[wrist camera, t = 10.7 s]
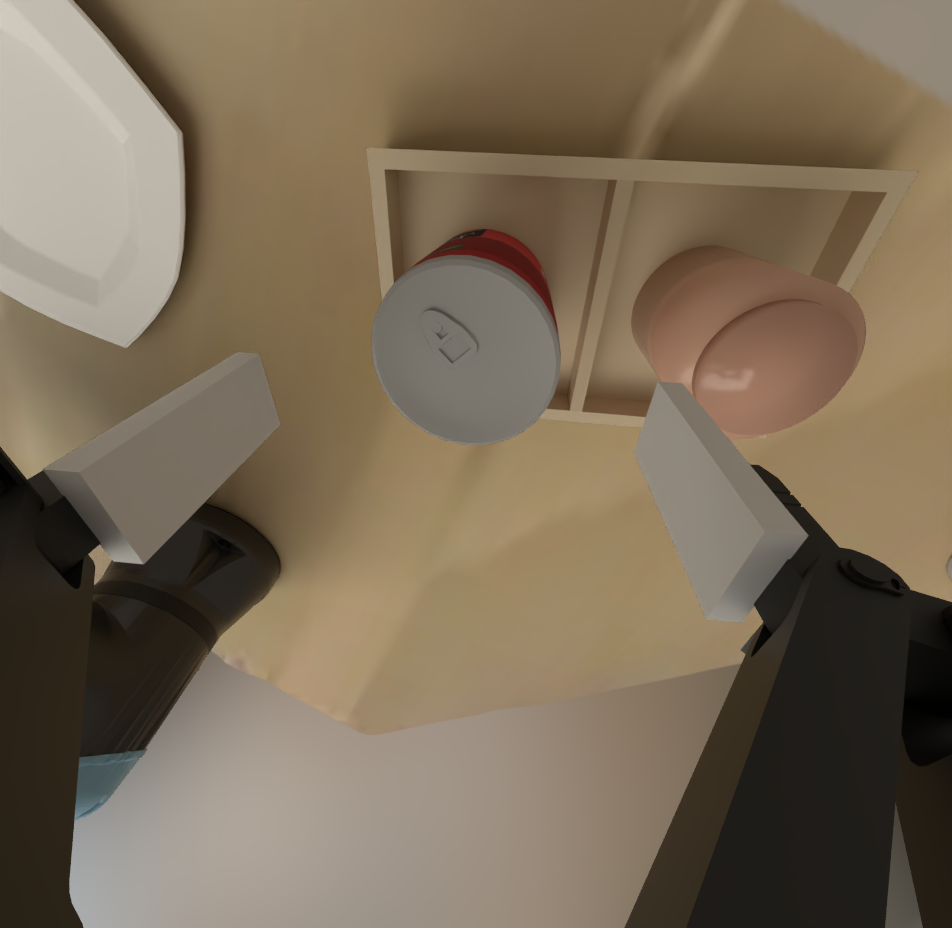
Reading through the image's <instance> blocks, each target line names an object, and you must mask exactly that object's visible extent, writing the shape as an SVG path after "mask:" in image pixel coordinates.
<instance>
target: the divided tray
mask: <svg viewBox="0 0 952 928" xmlns="http://www.w3.org/2000/svg"><path fill="white" fill-rule="evenodd" d="M367 158H368V168H369V178H370V188H371V198H372V207H373V217H374V227H375V237H376V247H377V257H378V267H379V277H380V286H381V296H382V299H383V298H384V297H385V295H386V293H387V292H388V291H389V289H390V288H391V287H392V285H393V284H394V283H395V281H396V280H397V279H398V278H400V277H401V276H402V275H403V274H404V273H405V272H406V271H408V270H409V269H410V268H411V267H413V266H414V265H415V264H416V263H417V262H419V261H420V260H422V259H423V258H424V257H426V256H427V255H429V254H430V253H431V252H433V251H434V250H436V249H437V248H438V247H440V246H441V245H443V244H444V243H445V242H447V241H448V240H450V239H451V238H453V237H455V236H457V235H459V234H461V233H463V232H466V231H471V230H475V229H492V230H496V231H500V232H504V233H506V234H508V235H510V236H512V237H514V238H516V239H518V240H519V241H520V242H521V243H523V244H524V245H525V246H526V247H528V248H529V249H530V251H531V252H532V253H533V254H534V255H535V257H536V258H537V259H538V261H539V263H540V265H541V267H542V268H543V270H544V273H545V276H546V279H547V282H548V286H549V290H550V295H551V299H552V304H553V308H554V313H555V318H556V322H557V327H558V334H559V342H560V350H561V362H560V373H559V380H558V383H557V386H556V390H555V393H554V396H553V398H552V399H551V401H550V403H549V405H548V407H547V409H546V410H545V411H544V413H543V414H542V415H541V416H540V417H539V418H538V419H548V420H560V421H571V422H583V423H594V424H606V425H618V426H629V427H641V428H642V427H643V424H644V421H645V418H646V415H647V412H648V409H649V406H650V403H651V400H652V397H653V394H654V391H655V388H656V385H657V382H661V381H660V379H659V378H658V376H657V375H656V373H655V372H654V370H653V369H652V367H651V366H650V364H649V363H648V361H647V360H646V358H645V357H644V355H643V353H642V352H641V350H640V349H639V347H638V346H637V344H636V342H635V340H634V337H633V333H632V328H631V317H632V310H633V306H634V303H635V300H636V298H637V295H638V293H639V291H640V290H641V288H642V286H643V285H644V283H645V282H646V280H647V279H648V278H649V277H650V275H651V274H652V273H653V272H654V271H655V270H656V269H657V268H658V267H660V266H661V265H662V264H663V263H664V262H666V261H667V260H669V259H670V258H672V257H673V256H675V255H677V254H679V253H681V252H683V251H686V250H688V249H692V248H695V247H700V246H711V245H715V246H723V247H726V248H730V249H733V250H736V251H739V252H742V253H745V254H747V255H750V256H753V257H756V258H759V259H762V260H765V261H768V262H771V263H774V264H777V265H779V266H782V267H785V268H788V269H791V270H794V271H797V272H800V273H803V274H806V275H809V276H811V277H814V278H817V279H820V280H823V281H826V282H829V283H832V284H834V285H836V286H838V287H840V288H842V289H844V290H845V291H846V292H848V293H849V292H850V290H851V289H852V287H853V285H854V283H855V282H856V280H857V278H858V276H859V275H860V273H861V271H862V269H863V268H864V266H865V264H866V262H867V261H868V259H869V257H870V255H871V254H872V252H873V250H874V248H875V247H876V245H877V243H878V242H879V240H880V238H881V236H882V235H883V233H884V231H885V229H886V228H887V226H888V224H889V222H890V221H891V219H892V217H893V215H894V214H895V212H896V210H897V208H898V207H899V205H900V203H901V201H902V200H903V198H904V196H905V194H906V193H907V191H908V189H909V187H910V186H911V184H912V182H913V180H914V179H915V177H916V175H917V173H918V172H919V171H901V170H878V169H854V168H831V167H808V166H784V165H761V164H737V163H714V162H691V161H667V160H644V159H620V158H597V157H574V156H550V155H527V154H504V153H480V152H457V151H433V150H410V149H387V148H367ZM392 405H393V406H394V404H393V403H392ZM767 436H768V434H767V435H764V436H759V437H758V438H766V437H767Z"/></svg>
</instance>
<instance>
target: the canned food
mask: <svg viewBox="0 0 952 928" xmlns="http://www.w3.org/2000/svg"><path fill="white" fill-rule="evenodd" d="M371 343H372V357H373V362H374V367H375V371H376V373H377V376H378V378H379V381H380V383H381V386H382V388H383V389H384V391H385V393H386V394H387V396H388V397H389V399H390V401H391V402H392V403H393V404H394V406H395V407H396V408H397V409H398V410H399V411H400V412H401V414H402V415H403V416H405V417H406V418H407V419H408V420H409V421H411V422H412V423H413V424H414V425H415V426H417V427H419V428H420V429H422V430H424V431H425V432H427V433H429V434H430V435H433V436H435V437H438V438H440V439H443V440H445V441H449V442H454V443H458V444H464V445H485V444H494V443H497V442H501V441H504V440H507V439H510V438H512V437H514V436H516V435H518V434H520V433H522V432H523V431H525V430H526V429H527V428H528V427H530V426H531V425H532V424H534V423H535V422H536V421H537V420H538V418H539V417H540V416H541V415H542V414H543V413H544V411H545V410H546V409H547V407H548V405H549V403H550V401H551V399H552V398H553V396H554V393H555V390H556V386H557V383H558V380H559V373H560V362H561V350H560V342H559V334H558V327H557V322H556V318H555V313H554V308H553V304H552V299H551V295H550V290H549V286H548V282H547V279H546V276H545V273H544V270H543V268H542V267H541V265H540V263H539V261H538V259H537V258H536V257H535V255H534V254H533V253H532V252H531V251H530V249H529V248H528V247H526V246H525V245H524V244H523V243H521V242H520V241H519V240H518V239H516V238H514V237H512V236H510V235H508V234H506V233H504V232H500V231H496V230H492V229H475V230H471V231H466V232H463V233H461V234H459V235H457V236H455V237H453V238H451V239H450V240H448V241H447V242H445V243H444V244H443V245H441V246H440V247H438V248H437V249H436V250H434V251H433V252H431V253H430V254H429V255H427V256H426V257H424V258H423V259H422V260H420V261H419V262H417V263H416V264H415V265H414V266H413V267H411V268H410V269H409V270H408V271H406V272H405V273H404V274H403V275H402V276H401V277H400V278H398V279H397V280H396V281H395V283H394V284H393V285H392V287H391V288H390V289H389V291H388V292H387V293H386V295H385V297H384V298H383V299H382V302H381V304H380V306H379V309H378V311H377V313H376V315H375V319H374V324H373V329H372V334H371Z"/></svg>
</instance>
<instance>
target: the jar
mask: <svg viewBox="0 0 952 928" xmlns="http://www.w3.org/2000/svg"><path fill="white" fill-rule="evenodd" d="M631 328H632V333H633V337H634V340H635V342H636V344H637V346H638V347H639V349H640V350H641V352H642V353H643V355H644V357H645V358H646V360H647V361H648V363H649V364H650V366H651V367H652V369H653V370H654V372H655V373H656V375H657V376H658V378H659V379H660V381H661V382H673V383H682V384H683V385H684V386H685V387H686V388H687V390H688V391H689V392H690V393H691V394H692V396H693V397H694V398H695V399H696V400H697V402H698V403H699V404H700V405H701V406H702V408H703V409H704V410H705V411H706V412H707V414H708V415H709V416H710V417H711V418H712V420H713V421H714V422H715V423H716V425H717V426H718V427H719V428H720V429H721V431H722V432H723V433H724V434H725V435H726V437H727V438H730V439H743V438H753V437H759V436H764V435H767V434H771V433H774V432H777V431H780V430H783V429H785V428H788V427H791V426H793V425H795V424H797V423H799V422H801V421H803V420H805V419H807V418H808V417H810V416H811V415H813V414H815V413H816V412H817V411H819V410H820V409H821V408H823V407H824V406H825V405H826V404H827V403H828V402H829V401H831V400H832V399H833V398H834V397H835V395H836V394H837V393H838V392H839V391H840V390H841V388H842V387H843V386H844V385H845V383H846V382H847V380H848V379H849V378H850V376H851V375H852V373H853V371H854V370H855V368H856V366H857V364H858V362H859V359H860V357H861V355H862V352H863V348H864V344H865V336H866V326H865V319H864V316H863V312H862V310H861V308H860V306H859V304H858V303H857V302H856V300H855V299H854V298H853V297H852V296H851V295H850V294H849V293H848V292H846V291H845V290H844V289H842V288H840V287H838V286H836V285H834V284H832V283H829V282H826V281H823V280H820V279H817V278H814V277H811V276H809V275H806V274H803V273H800V272H797V271H794V270H791V269H788V268H785V267H782V266H779V265H777V264H774V263H771V262H768V261H765V260H762V259H759V258H756V257H753V256H750V255H747V254H745V253H742V252H739V251H736V250H733V249H730V248H726V247H723V246H715V245H711V246H700V247H695V248H692V249H688V250H686V251H683V252H681V253H679V254H677V255H675V256H673V257H672V258H670V259H669V260H667V261H666V262H664V263H663V264H662V265H661V266H660V267H658V268H657V269H656V270H655V271H654V272H653V273H652V274H651V275H650V277H649V278H648V279H647V280H646V282H645V283H644V285H643V286H642V288H641V290H640V291H639V293H638V295H637V298H636V300H635V303H634V306H633V310H632V317H631Z"/></svg>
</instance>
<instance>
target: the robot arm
mask: <svg viewBox="0 0 952 928" xmlns="http://www.w3.org/2000/svg"><path fill="white" fill-rule="evenodd" d="M279 426H280V422H279V418H278V415H277V411H276V408H275V405H274V401H273V398H272V395H271V391H270V388H269V384H268V381H267V378H266V374H265V371H264V367H263V364H262V361H261V357H260V354H258V353H244V352H237V353H235V354H233V355H232V356H230V357H228V358H227V359H225V360H223V361H222V362H220V363H218V364H217V365H215V366H213V367H212V368H210V369H208V370H207V371H205V372H203V373H202V374H200V375H198V376H197V377H195V378H193V379H192V380H190V381H188V382H187V383H185V384H183V385H182V386H180V387H178V388H177V389H175V390H173V391H172V392H170V393H168V394H167V395H165V396H163V397H162V398H160V399H158V400H157V401H155V402H153V403H152V404H150V405H148V406H147V407H145V408H143V409H142V410H140V411H138V412H137V413H135V414H133V415H132V416H130V417H128V418H127V419H125V420H123V421H122V422H120V423H118V424H117V425H115V426H113V427H112V428H110V429H108V430H107V431H105V432H103V433H102V434H100V435H98V436H97V437H95V438H93V439H92V440H90V441H89V442H87V443H85V444H84V445H82V446H80V447H79V448H77V449H75V450H74V451H72V452H70V453H69V454H67V455H65V456H64V457H62V458H60V459H59V460H57V461H55V462H54V463H52V464H50V465H49V466H47V467H45V468H44V469H43V471H41V472H40V473H38V474H36V475H35V476H33V477H31V478H30V479H28V480H27V479H26V478H25V476H24V475H23V474H22V473H21V472H20V470H19V469H18V468H17V467H16V465H15V464H14V463H13V462H12V461H11V459H10V458H9V457H8V456H7V454H6V453H5V452H4V451H3V449H2V448H1V447H0V928H83V924H82V922H81V920H80V918H79V916H78V914H77V913H76V911H75V909H74V907H73V905H72V903H71V898H70V893H69V877H70V866H71V853H72V841H73V830H74V820H78V819H81V818H83V817H86V816H88V815H90V814H92V813H93V812H95V811H96V810H97V809H99V808H100V807H101V806H102V805H103V804H104V803H105V802H106V801H107V800H108V799H109V798H110V797H111V795H112V794H113V793H114V791H115V790H116V789H117V787H118V786H119V785H120V783H121V782H122V781H123V779H124V778H125V777H126V775H127V774H128V773H129V772H130V770H131V769H132V768H133V766H134V765H135V764H136V762H137V761H138V760H139V758H140V757H142V756H143V755H144V754H145V752H146V751H147V749H146V747H147V746H148V744H149V743H150V741H151V740H152V738H153V737H154V735H155V734H156V732H157V731H158V729H159V728H160V726H161V725H162V723H163V722H164V720H165V719H166V717H167V716H168V714H169V712H170V711H171V710H172V708H173V706H174V705H175V704H176V702H177V701H178V699H179V698H180V696H181V695H182V693H183V691H184V690H185V688H186V687H187V685H188V684H189V682H190V681H191V679H192V678H193V676H194V675H195V673H196V672H197V670H198V669H199V667H200V666H201V664H202V663H203V661H204V660H205V658H206V657H207V655H208V654H209V652H210V651H211V649H212V648H213V646H214V645H215V643H216V642H217V640H218V639H219V637H220V636H221V635H222V634H223V633H224V632H225V631H226V630H228V629H229V628H230V627H231V626H232V625H233V624H234V623H236V622H237V621H238V620H239V619H240V618H241V617H242V616H243V615H244V614H246V613H247V612H248V611H249V610H250V609H251V608H252V607H253V606H254V605H256V604H257V603H258V602H260V601H261V600H263V599H264V598H265V597H266V595H267V594H268V593H269V591H270V590H271V588H272V587H273V585H274V583H275V582H276V580H277V579H278V576H279V573H280V565H279V561H278V558H277V556H276V554H275V552H274V550H273V549H272V547H271V546H270V545H269V543H268V542H267V541H266V540H265V539H264V538H263V537H262V536H261V535H260V534H259V533H258V532H257V531H256V530H254V529H253V528H252V527H250V526H249V525H248V524H246V523H245V522H243V521H241V520H240V519H238V518H236V517H235V516H233V515H231V514H229V513H227V512H225V511H222V510H220V509H217V508H215V507H212V506H209V505H205V504H203V503H204V502H205V501H206V500H207V499H208V498H209V497H210V496H211V495H212V494H213V493H214V492H215V491H216V490H217V489H218V488H219V487H220V486H221V485H222V484H223V483H224V482H225V481H226V480H227V479H228V478H229V477H230V476H231V475H232V474H233V473H234V472H235V471H236V470H237V469H238V468H239V467H240V466H241V465H242V464H243V463H244V462H245V461H246V460H247V459H248V458H249V457H250V456H251V455H252V454H253V452H254V451H255V450H256V449H257V448H258V447H259V446H260V445H261V444H262V443H263V442H264V441H265V440H266V439H267V438H268V437H269V436H270V435H271V434H272V433H273V432H274V431H275V430H276V429H277V428H278V427H279ZM634 454H635V456H636V459H637V461H638V463H639V466H640V468H641V470H642V473H643V475H644V477H645V479H646V482H647V484H648V486H649V489H650V491H651V493H652V496H653V498H654V500H655V502H656V505H657V507H658V509H659V512H660V514H661V516H662V519H663V521H664V523H665V525H666V528H667V530H668V532H669V535H670V537H671V539H672V542H673V544H674V546H675V548H676V551H677V553H678V555H679V558H680V560H681V562H682V565H683V567H684V569H685V571H686V574H687V576H688V578H689V581H690V583H691V585H692V588H693V590H694V592H695V594H696V597H697V599H698V601H699V604H700V606H701V608H702V611H703V613H704V615H705V617H706V619H710V620H720V621H731V622H741V623H742V621H743V620H744V619H745V617H746V616H747V615H748V613H749V612H750V611H751V610H752V608H753V607H754V606H755V607H756V609H757V611H758V613H759V615H760V616H761V618H762V620H763V623H762V625H761V626H760V627H759V628H758V629H757V631H756V632H755V633H754V634H753V636H752V637H751V638H750V639H749V640H748V642H747V643H746V644H745V645H744V646H743V648H742V649H741V651H742V652H744V653H745V654H746V655H745V657H744V660H743V662H742V664H741V666H740V669H739V671H738V673H737V675H736V678H735V680H734V682H733V684H732V687H731V689H730V691H729V693H728V696H727V698H726V700H725V702H724V705H723V707H722V709H721V711H720V714H719V716H718V718H717V720H716V723H715V725H714V727H713V729H712V732H711V734H710V736H709V738H708V741H707V743H706V745H705V748H704V750H703V752H702V754H701V756H700V759H699V761H698V763H697V765H696V768H695V770H694V772H693V775H692V777H691V779H690V781H689V784H688V786H687V788H686V790H685V793H684V795H683V797H682V799H681V802H680V804H679V806H678V808H677V811H676V813H675V815H674V817H673V820H672V822H671V824H670V826H669V829H668V831H667V833H666V836H665V838H664V840H663V842H662V844H661V847H660V849H659V852H658V854H657V856H656V858H655V860H654V863H653V865H652V867H651V869H650V871H649V874H648V876H647V878H646V881H645V883H644V885H643V887H642V890H641V892H640V894H639V896H638V899H637V901H636V903H635V905H634V908H633V910H632V912H631V914H630V917H629V919H628V921H627V923H626V926H625V928H885V920H886V907H887V896H888V884H889V872H890V860H891V848H892V836H893V824H894V810H895V801H896V805H897V810H898V815H899V819H900V823H901V828H902V833H903V837H904V842H905V846H906V851H907V856H908V861H909V865H910V870H911V874H912V879H913V884H914V888H915V893H916V897H917V902H918V906H919V911H920V916H921V920H922V925H923V928H952V602H949V601H946V600H942V599H939V598H936V597H932V596H929V595H926V594H922V593H919V592H916V591H912V590H910V588H909V587H908V585H907V584H906V583H905V582H904V581H903V579H902V578H901V577H900V576H899V575H898V574H897V573H895V572H894V571H893V570H891V569H890V568H889V567H887V566H886V565H885V564H883V563H881V562H879V561H877V560H876V559H874V558H872V557H870V556H868V555H865V554H863V553H860V552H857V551H854V550H851V549H845V548H839V546H838V545H837V544H836V543H835V542H834V541H833V540H832V539H831V537H830V536H829V535H828V534H827V533H826V532H825V531H824V530H823V528H822V527H821V526H820V525H819V524H818V523H817V522H816V521H815V519H814V518H813V517H812V516H811V515H810V514H809V513H808V512H807V510H806V509H805V508H804V507H801V504H800V503H799V501H798V500H797V499H796V498H795V497H794V496H793V495H790V493H791V492H790V491H789V490H788V489H787V488H786V487H785V486H784V484H783V483H782V482H781V481H780V480H779V479H778V478H777V477H775V476H774V475H772V474H771V473H770V472H768V471H767V470H765V469H764V468H762V467H761V466H759V465H750V464H749V463H748V462H747V461H746V459H745V458H744V457H743V456H742V455H741V453H740V452H739V451H738V450H737V449H736V447H735V446H734V445H733V444H732V443H731V441H730V440H729V439H728V438H727V437H726V435H725V434H724V433H723V432H722V431H721V429H720V428H719V427H718V426H717V425H716V423H715V422H714V421H713V420H712V418H711V417H710V416H709V415H708V414H707V412H706V411H705V410H704V409H703V408H702V406H701V405H700V404H699V403H698V402H697V400H696V399H695V398H694V397H693V396H692V394H691V393H690V392H689V391H688V390H687V388H686V387H685V386H684V385H683V384H682V383H673V382H657V385H656V388H655V391H654V394H653V397H652V400H651V403H650V406H649V409H648V412H647V415H646V418H645V421H644V424H643V427H642V430H641V433H640V436H639V439H638V442H637V445H636V448H635V451H634ZM99 544H100V545H101V546H102V547H103V549H104V550H105V551H106V553H107V554H108V555H109V556H110V558H111V559H112V561H111V563H110V565H109V566H108V568H107V570H106V572H105V573H104V575H103V577H102V578H101V579H100V580H99V581H98V582H97V583H96V584H95V585H94V576H95V565H94V562H93V560H92V559H91V558H90V556H89V555H88V554H89V553H90V552H91V551H92V550H93V549H94V548H96V547H97V546H98V545H99Z"/></svg>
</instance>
